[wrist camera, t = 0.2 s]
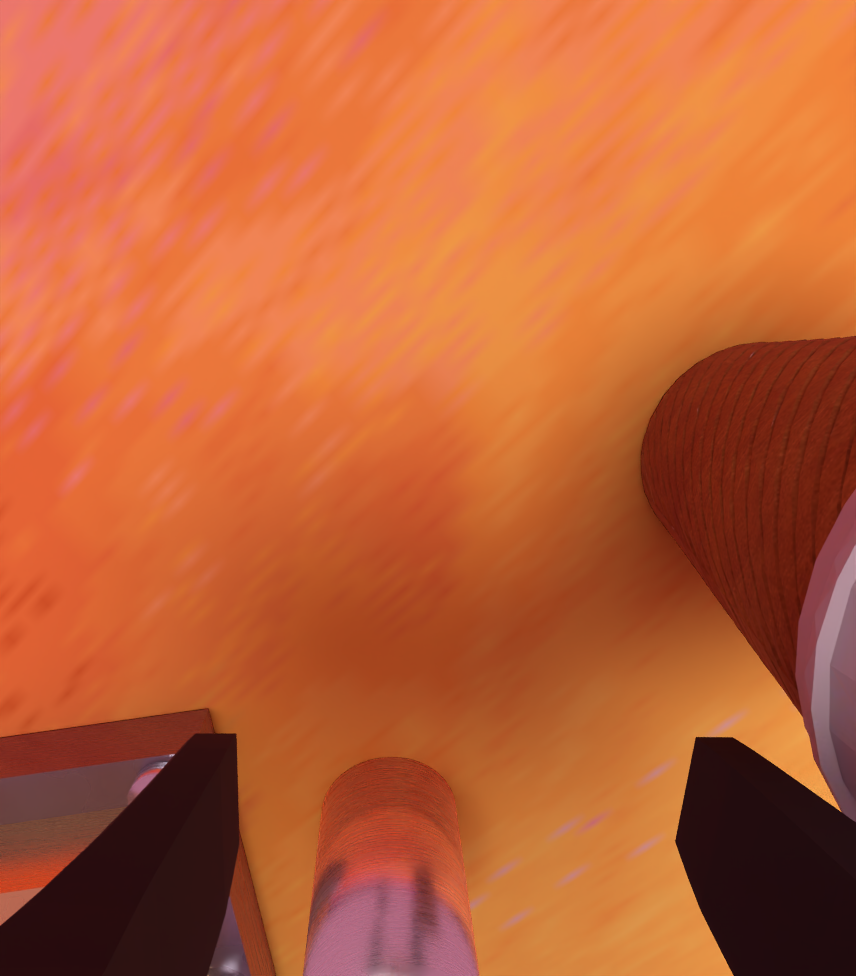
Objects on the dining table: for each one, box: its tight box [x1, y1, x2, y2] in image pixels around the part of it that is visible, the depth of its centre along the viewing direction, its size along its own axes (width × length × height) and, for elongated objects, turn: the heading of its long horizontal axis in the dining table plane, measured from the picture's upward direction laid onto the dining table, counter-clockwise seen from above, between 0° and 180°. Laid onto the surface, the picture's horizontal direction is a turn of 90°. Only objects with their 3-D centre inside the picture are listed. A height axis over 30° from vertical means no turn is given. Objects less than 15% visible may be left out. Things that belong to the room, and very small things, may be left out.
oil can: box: [303, 757, 479, 976], centre depth 19 cm, size 4×4×9 cm
